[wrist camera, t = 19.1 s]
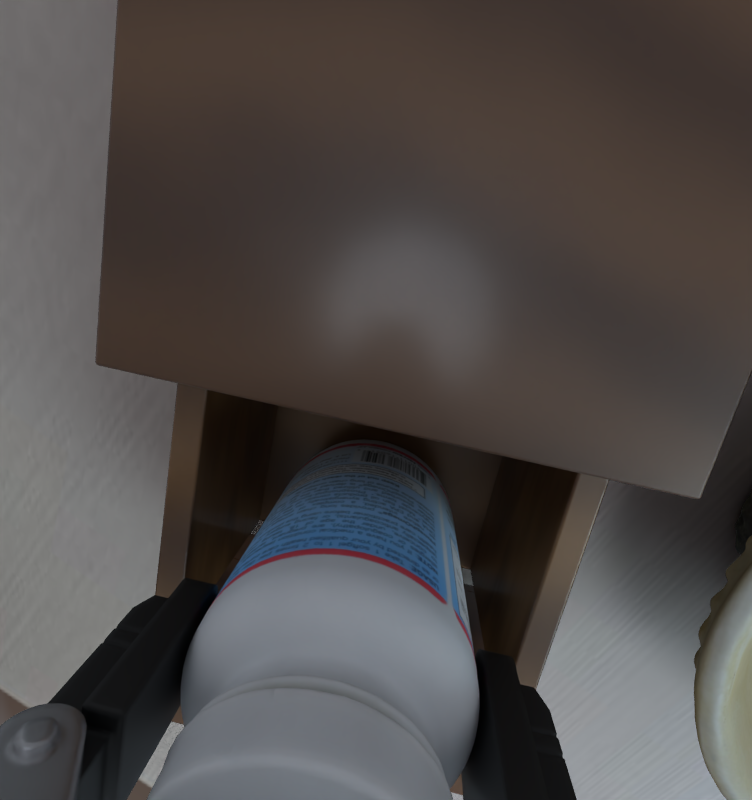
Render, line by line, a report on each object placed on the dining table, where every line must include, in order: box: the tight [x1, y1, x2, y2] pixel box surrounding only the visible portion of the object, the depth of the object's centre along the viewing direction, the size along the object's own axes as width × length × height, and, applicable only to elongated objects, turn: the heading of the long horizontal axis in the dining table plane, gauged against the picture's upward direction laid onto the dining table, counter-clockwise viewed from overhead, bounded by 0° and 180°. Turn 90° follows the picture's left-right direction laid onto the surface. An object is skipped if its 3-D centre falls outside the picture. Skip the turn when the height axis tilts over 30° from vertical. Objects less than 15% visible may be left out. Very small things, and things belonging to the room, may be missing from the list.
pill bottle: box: [147, 439, 480, 800], centre depth 12 cm, size 6×6×11 cm
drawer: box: [155, 383, 609, 795], centre depth 17 cm, size 21×13×9 cm, turn 168°
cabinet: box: [95, 0, 752, 499], centre depth 14 cm, size 17×14×11 cm
